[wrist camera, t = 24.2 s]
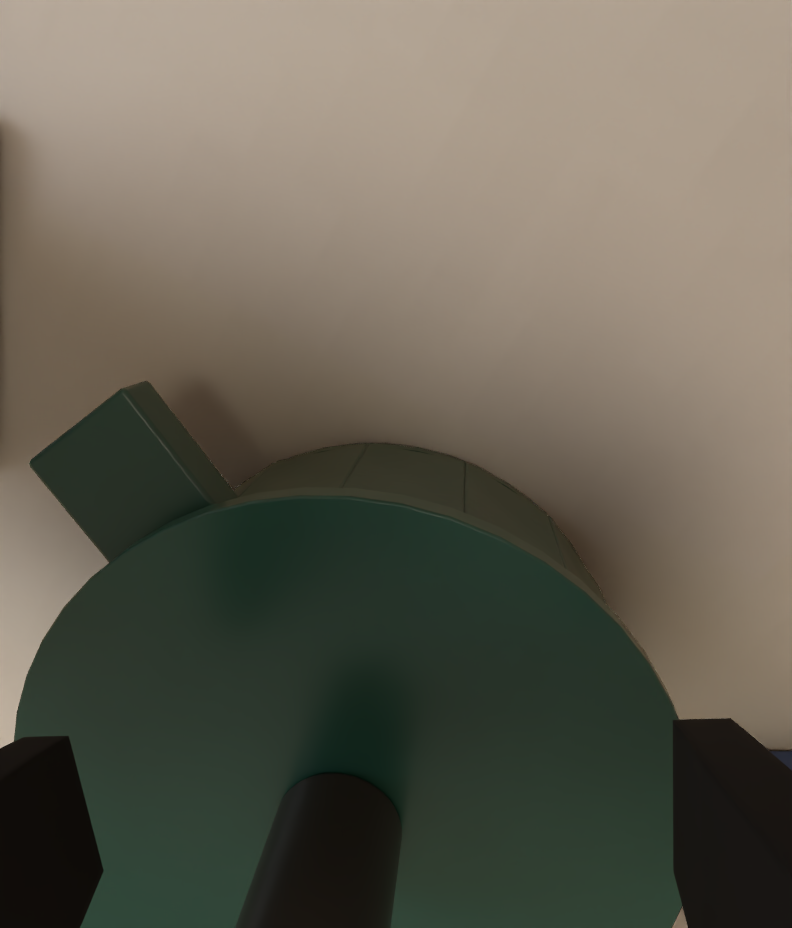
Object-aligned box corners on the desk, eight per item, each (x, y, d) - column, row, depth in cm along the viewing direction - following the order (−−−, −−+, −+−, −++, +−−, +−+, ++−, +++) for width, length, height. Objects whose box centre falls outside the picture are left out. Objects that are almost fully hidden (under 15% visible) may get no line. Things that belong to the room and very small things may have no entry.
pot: (392, 965, 20) (367, 1180, 15) (11, 512, 17) (-163, 601, 12) (749, 803, 17) (854, 1002, 12) (364, 241, 15) (313, 224, 10)
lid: (7, 907, 15) (-190, 1174, 10) (111, 379, 11) (-116, 444, 7) (537, 1093, 15) (566, 1445, 10) (801, 612, 11) (1014, 828, 7)
